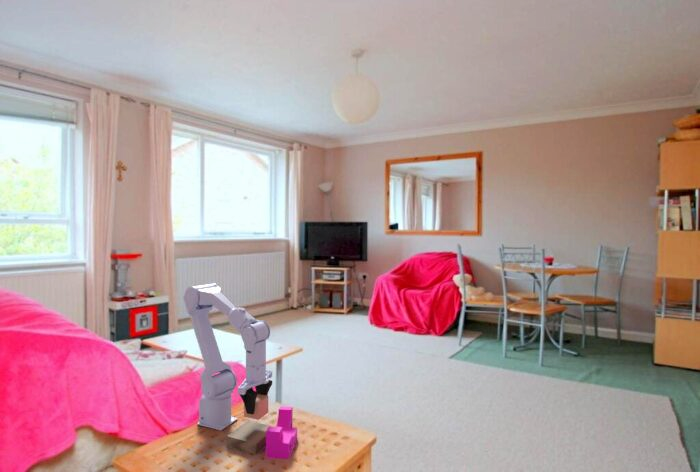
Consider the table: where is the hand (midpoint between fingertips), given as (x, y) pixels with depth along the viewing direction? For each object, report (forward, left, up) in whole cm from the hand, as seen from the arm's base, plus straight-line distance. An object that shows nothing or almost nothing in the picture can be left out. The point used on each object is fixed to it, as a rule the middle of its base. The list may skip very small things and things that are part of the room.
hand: (255, 409), depth 122 cm
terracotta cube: (0, 0, -2) cm, 2 cm away
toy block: (+9, +1, -9) cm, 13 cm away
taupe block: (0, -2, -8) cm, 9 cm away
